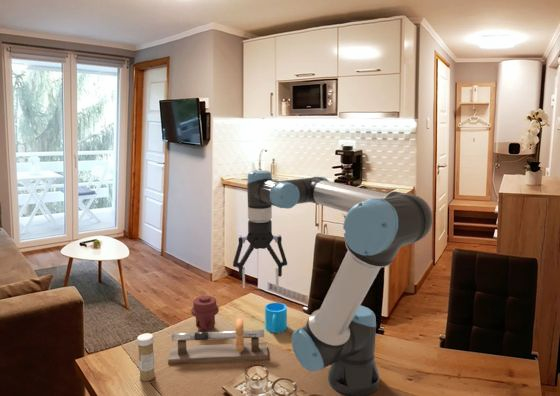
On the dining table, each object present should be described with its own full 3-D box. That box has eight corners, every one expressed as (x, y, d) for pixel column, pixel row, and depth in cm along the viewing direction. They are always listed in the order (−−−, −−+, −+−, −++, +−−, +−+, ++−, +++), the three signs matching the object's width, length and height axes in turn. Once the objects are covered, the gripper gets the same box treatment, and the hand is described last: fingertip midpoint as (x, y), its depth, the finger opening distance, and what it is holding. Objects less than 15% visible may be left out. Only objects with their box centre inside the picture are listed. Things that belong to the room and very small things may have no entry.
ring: (243, 351, 141) (243, 328, 139) (236, 352, 140) (235, 329, 139) (243, 339, 148) (243, 317, 147) (236, 339, 148) (236, 317, 147)
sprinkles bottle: (141, 373, 134) (139, 333, 131) (156, 372, 134) (154, 332, 132) (138, 382, 129) (135, 340, 127) (153, 381, 130) (151, 339, 127)
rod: (263, 335, 146) (263, 328, 145) (264, 338, 143) (264, 331, 143) (173, 338, 143) (172, 331, 143) (171, 342, 141) (171, 335, 140)
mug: (266, 321, 168) (266, 302, 166) (287, 322, 167) (287, 303, 166) (262, 337, 156) (262, 316, 155) (284, 338, 155) (284, 317, 154)
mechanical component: (196, 321, 168) (221, 323, 167) (188, 334, 158) (215, 335, 157) (195, 291, 166) (221, 292, 165) (187, 302, 156) (214, 303, 155)
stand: (267, 359, 142) (267, 342, 141) (168, 363, 139) (167, 347, 138) (266, 346, 150) (266, 331, 149) (172, 350, 147) (171, 334, 146)
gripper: (293, 216, 142) (293, 280, 146) (224, 217, 140) (225, 283, 144) (296, 221, 135) (296, 289, 138) (223, 223, 133) (224, 291, 137)
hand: (260, 286), depth 141 cm, fingers open, 10 cm apart
